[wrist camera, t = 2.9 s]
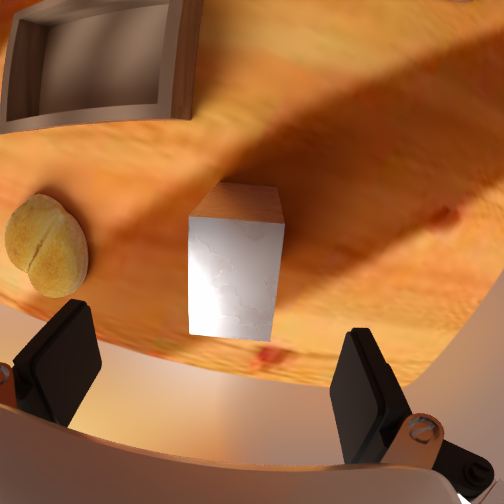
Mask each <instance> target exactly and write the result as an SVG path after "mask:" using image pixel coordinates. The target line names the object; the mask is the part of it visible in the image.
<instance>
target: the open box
mask: <svg viewBox="0 0 504 504" xmlns="http://www.w3.org/2000/svg"><path fill="white" fill-rule="evenodd" d="M202 5H203V0H45V1H42V2H40V3H37V4H35V5H32V6H30V7H27V8H25V9H23V10H21V11H18V12H16V13H14V17H13V21H12V26H11V30H10V35H9V40H8V46H7V52H6V58H5V65H4V72H3V81H2V91H1V104H0V134H6V133H13V132H21V131H30V130H39V129H46V128H54V127H62V126H71V125H81V124H92V123H105V122H122V121H150V120H191V111H192V98H193V86H194V75H195V64H196V54H197V45H198V36H199V28H200V20H201V13H202Z"/></svg>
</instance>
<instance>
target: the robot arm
mask: <svg viewBox="0 0 504 504" xmlns="http://www.w3.org/2000/svg"><path fill="white" fill-rule="evenodd" d="M452 1H457V2H468V1H472V0H452ZM13 363H14V366H13V367H12V368H11V367H10V366H9V365H8V364H6V363H0V504H504V482H503V481H502V480H501V479H498V480H497V481H496V480H494V469H493V467H492V465H491V464H490V463H489V462H488V461H487V460H486V459H484V458H483V457H480V456H478V455H476V454H474V453H472V452H469V451H467V450H465V449H463V448H461V447H458V446H457V445H454V444H452V443H450V442H448V441H446V440H444V439H443V438H444V429H443V426H442V425H441V423H440V422H439V421H438V420H437V419H436V418H434V417H432V416H431V415H428V414H424V413H423V414H422V413H417V414H412V411H411V409H410V407H409V405H408V403H407V400H406V398H405V396H404V394H403V392H402V390H401V387H400V385H399V383H398V381H397V379H396V377H395V375H394V373H393V371H392V369H391V367H390V365H389V364H388V363H386V361H385V359H384V357H383V355H382V353H381V351H380V349H379V347H378V345H377V343H376V341H375V339H374V337H373V335H372V333H371V331H370V329H369V328H353V329H352V330H351V332H347V333H346V336H345V339H344V343H343V346H342V350H341V353H340V357H339V360H338V363H337V367H336V370H335V373H334V376H333V379H332V382H331V386H330V397H331V401H332V406H333V411H334V415H335V420H336V424H337V429H338V434H339V438H340V443H341V447H342V453H343V458H344V462H345V464H342V465H319V466H318V465H317V466H279V465H278V466H277V465H254V464H238V463H228V462H218V461H210V460H202V459H194V458H188V457H181V456H175V455H169V454H164V453H159V452H153V451H148V450H144V449H140V448H136V447H131V446H127V445H123V444H119V443H116V442H112V441H108V440H104V439H101V438H97V437H94V436H91V435H87V434H84V433H81V432H78V431H75V430H72V429H69V428H67V427H68V425H69V424H70V422H71V420H72V418H73V416H74V414H75V413H76V411H77V409H78V407H79V405H80V404H81V402H82V400H83V399H84V397H85V395H86V393H87V392H88V390H89V388H90V387H91V385H92V383H93V381H94V380H95V378H96V376H97V374H98V373H99V371H100V370H101V366H102V361H101V356H100V352H99V348H98V343H97V339H96V334H95V329H94V324H93V319H92V314H91V309H90V307H89V306H88V305H87V303H86V302H85V301H81V300H76V299H71V300H69V301H68V302H67V303H66V304H65V305H64V306H63V307H62V308H61V309H60V310H59V311H58V312H57V313H56V314H55V315H54V316H53V317H52V318H51V319H50V320H49V321H48V322H47V324H46V325H45V326H44V327H43V328H42V329H41V330H40V331H39V332H38V333H37V334H36V335H35V336H34V337H33V338H32V339H31V341H30V342H29V343H28V344H27V345H26V346H25V347H24V348H23V349H22V351H20V353H19V354H18V355H17V356H16V357H15V358H14V360H13Z"/></svg>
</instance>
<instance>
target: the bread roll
mask: <svg viewBox="0 0 504 504" xmlns="http://www.w3.org/2000/svg"><path fill="white" fill-rule="evenodd" d="M5 230H6V232H5V246H6V250H7V254H8V256H9V258H10V260H11V262H12V263H13V264H14V265H15V266H16V267H17V268H18V269H20V270H22V271H24V272H26V273H28V276H29V278H30V281H31V283H32V285H33V287H34V288H35V289H36V290H37V291H38V292H39V293H40V294H42V295H44V296H46V297H50V298H59V297H63V296H66V295H69V294H71V293H73V292H75V291H76V290H77V289H78V288H79V286H80V285H81V284H82V283H83V281H84V279H85V277H86V273H87V268H88V248H87V242H86V238H85V235H84V233H83V230H82V228H81V227H80V225H79V223H78V222H77V221H76V219H75V218H74V217H73V216H72V215H71V214H69V213H68V212H66V211H65V209H64V208H63V206H62V205H61V204H60V203H59V202H58V201H56V200H55V199H53V198H51V197H49V196H46V195H43V194H36V195H34V196H32V197H29V198H28V200H27V202H25V203H23V204H22V205H21V206H20V207H19V208H17V209H16V210H15V212H14V213H13V214H12V215H11V218H10V219H9V222H8V224H7V226H6V229H5Z"/></svg>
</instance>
